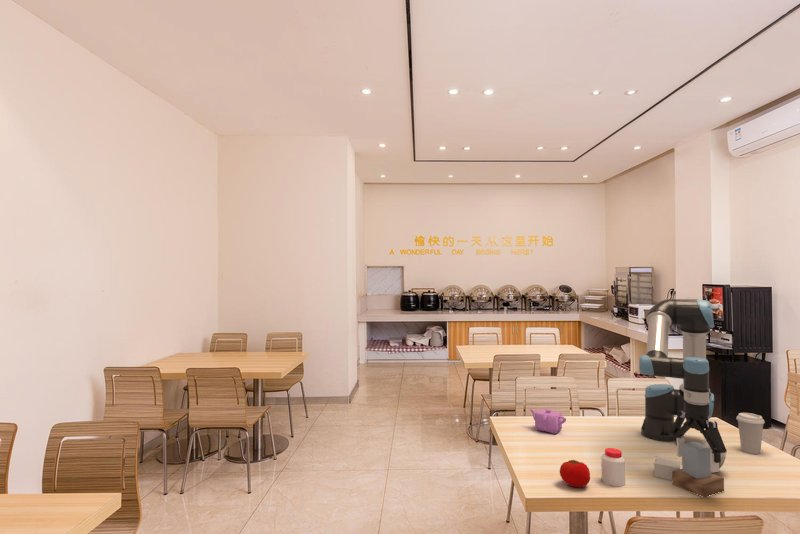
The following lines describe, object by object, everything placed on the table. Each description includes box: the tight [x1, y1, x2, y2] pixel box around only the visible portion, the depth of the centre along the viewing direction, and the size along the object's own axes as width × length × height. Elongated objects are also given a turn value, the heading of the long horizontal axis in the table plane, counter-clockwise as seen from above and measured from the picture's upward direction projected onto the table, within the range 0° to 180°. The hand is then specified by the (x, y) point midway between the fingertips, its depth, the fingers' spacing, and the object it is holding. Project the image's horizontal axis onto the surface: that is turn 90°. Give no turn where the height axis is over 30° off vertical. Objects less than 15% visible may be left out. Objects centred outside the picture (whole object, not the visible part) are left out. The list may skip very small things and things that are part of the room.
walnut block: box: [671, 468, 725, 499], centre depth 159 cm, size 11×11×5 cm
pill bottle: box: [601, 447, 626, 487], centre depth 164 cm, size 8×8×11 cm
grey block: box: [653, 455, 681, 481], centre depth 170 cm, size 8×8×5 cm
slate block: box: [681, 441, 711, 479], centre depth 160 cm, size 6×6×10 cm
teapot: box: [528, 408, 567, 435], centre depth 219 cm, size 18×14×10 cm
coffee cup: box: [736, 412, 766, 455], centre depth 193 cm, size 10×10×15 cm
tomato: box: [559, 459, 591, 488], centre depth 161 cm, size 9×10×8 cm
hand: (697, 463), depth 160 cm, fingers open, 13 cm apart
